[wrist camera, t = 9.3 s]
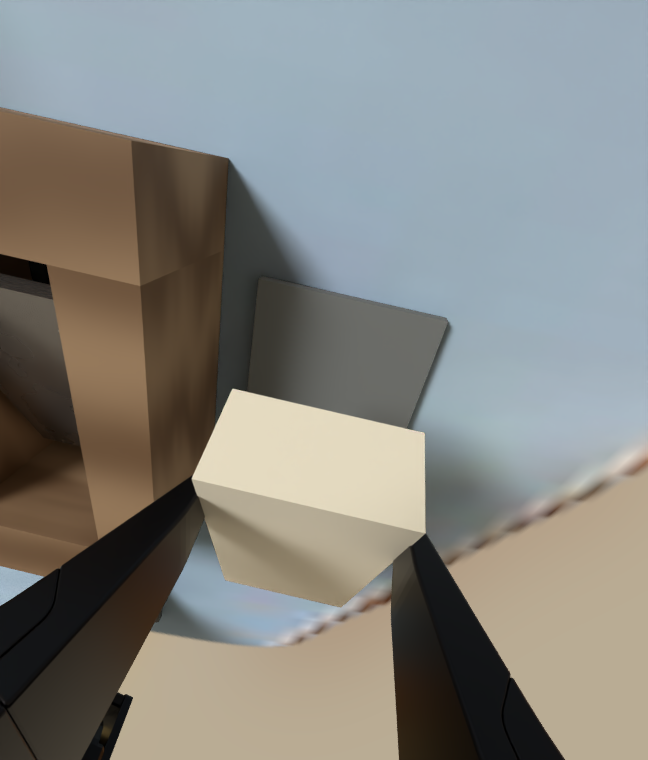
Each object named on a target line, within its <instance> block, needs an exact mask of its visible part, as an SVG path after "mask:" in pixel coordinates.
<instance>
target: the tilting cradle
mask: <svg viewBox="0 0 648 760" xmlns="http://www.w3.org/2000/svg"><path fill="white" fill-rule="evenodd" d="M0 390H1V391H2V392H3V393H4V394H5V396H6V397H7V398H8V399H9V400H10V401H11V402H12V403H13V404H14V406H15V407H16V408H17V409H18V410H19V411H20V412H21V413H22V414H23V415H24V417H25V418H26V419H27V420H28V421H29V422H30V423H31V424H32V425H33V427H34V428H35V429H36V430H37V431H38V432H39V433H40V434H41V435H42V437H43V438H47V439H51V440H55V441H59V442H64V443H68V444H72V445H76V446H80V447H81V445H80V439H79V434H78V429H77V424H76V418H75V413H74V408H73V402H72V397H71V392H70V386H69V381H68V376H67V370H66V365H65V360H64V354H63V349H62V344H61V338H60V333H59V328H58V322H57V317H56V312H55V307H54V301H53V296H52V291H51V285H49V284H44V283H40V282H36V281H31V280H27V279H23V278H18V277H14V276H10V275H5V274H1V273H0Z"/></svg>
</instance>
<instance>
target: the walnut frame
mask: <svg viewBox="0 0 648 760" xmlns="http://www.w3.org/2000/svg"><path fill="white" fill-rule="evenodd" d="M228 162H229V158H224V157H220V156H215V155H211V154H206V153H202V152H197V151H193V150H188V149H184V148H180V147H175V146H171V145H166V144H162V143H157V142H153V141H148V140H144V139H139V138H135V137H130V136H126V135H122V134H117V133H113V132H108V131H104V130H99V129H95V128H90V127H86V126H81V125H77V124H72V123H68V122H64V121H59V120H55V119H50V118H46V117H41V116H37V115H32V114H28V113H23V112H19V111H14V110H10V109H6V108H1V107H0V273H1V274H5V275H10V276H14V277H18V278H23V279H27V280H31V281H32V276H31V272H30V267H29V262H28V260H29V261H34V262H38V263H42V264H47V269H48V275H49V280H50V285H51V291H52V296H53V301H54V307H55V312H56V317H57V322H58V328H59V333H60V338H61V344H62V349H63V354H64V360H65V365H66V370H67V376H68V381H69V386H70V392H71V397H72V402H73V408H74V413H75V418H76V424H77V429H78V434H79V439H80V445H81V447H80V446H76V445H72V444H68V443H64V442H59V441H55V440H51V439H47V438H43V437H42V435H41V434H40V433H39V432H38V431H37V430H36V429H35V428H34V427H33V425H32V424H31V423H30V422H29V421H28V420H27V419H26V418H25V417H24V415H23V414H22V413H21V412H20V411H19V410H18V409H17V408H16V407H15V406H14V404H13V403H12V402H11V401H10V400H9V399H8V398H7V397H6V396H5V394H4V393H3V392H2V391H1V390H0V566H3V567H7V568H11V569H15V570H19V571H24V572H28V573H32V574H36V575H40V576H44V577H45V576H47V575H48V574H50V573H51V572H52V571H54V570H55V569H57V568H59V569H60V567H61V566H62V565H63V564H64V563H66V562H67V561H69V560H70V559H72V558H73V557H74V556H76V555H77V554H79V553H80V552H82V551H83V550H85V549H86V548H87V547H89V546H90V545H92V544H93V543H95V542H96V541H98V540H99V539H100V538H102V537H103V536H105V535H106V534H108V533H109V532H111V531H112V530H113V529H115V528H116V527H118V526H119V525H121V524H122V523H124V522H125V521H126V520H128V519H129V518H131V517H132V516H134V515H135V514H137V513H138V512H139V511H141V510H142V509H144V508H145V507H147V506H148V505H150V504H151V503H152V502H154V501H155V500H157V499H158V498H160V497H161V496H163V495H164V494H166V493H167V492H168V491H170V490H171V489H173V488H174V487H176V486H177V485H179V484H180V483H181V482H183V481H184V480H186V479H187V478H189V477H190V476H192V475H193V474H194V472H195V470H196V468H197V466H198V463H199V461H200V459H201V457H202V455H203V452H204V450H205V448H206V446H207V444H208V441H209V439H210V437H211V435H212V433H213V430H214V428H215V413H216V393H217V374H218V355H219V336H220V316H221V297H222V278H223V258H224V239H225V220H226V201H227V181H228Z"/></svg>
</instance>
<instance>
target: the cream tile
mask: <svg viewBox="0 0 648 760" xmlns="http://www.w3.org/2000/svg"><path fill="white" fill-rule="evenodd" d="M192 482H193V485H194V488H195V491H196V494H197V496H198V497H199V500H200V503H201V506H202V509H203V512H204V515H205V521H206V524H207V527H208V530H209V533H210V536H211V539H212V542H213V545H214V548H215V551H216V554H217V557H218V560H219V563H220V566H221V569H222V572H223V575H224V578H225V580H226V581H231V582H235V583H239V584H243V585H248V586H252V587H256V588H260V589H265V590H269V591H273V592H277V593H282V594H286V595H290V596H294V597H298V598H303V599H307V600H311V601H315V602H320V603H324V604H328V605H332V606H337V607H342V606H343V605H344V604H346V603H347V602H348V601H349V600H350V599H351V598H352V597H354V596H355V595H356V594H357V593H358V592H359V591H360V590H362V589H363V588H364V587H365V586H366V585H367V584H368V583H370V582H371V581H372V580H373V579H374V578H375V577H376V576H378V575H379V574H380V573H381V572H382V571H383V570H384V569H386V568H387V567H388V566H389V565H390V564H391V563H392V562H393V560H394V559H396V558H397V557H398V556H399V555H400V554H401V553H402V552H403V551H405V550H406V549H407V548H408V547H409V546H412V545H413V544H414V543H415V542H416V541H418V540H419V539H420V538H421V537H422V536H423V535H424V534H426V529H425V433H423V432H418V431H414V430H410V429H405V428H401V427H397V426H392V425H388V424H384V423H379V422H375V421H371V420H366V419H362V418H358V417H353V416H349V415H345V414H340V413H336V412H332V411H327V410H323V409H319V408H314V407H310V406H306V405H301V404H297V403H293V402H288V401H284V400H280V399H275V398H271V397H267V396H262V395H258V394H254V393H249V392H245V391H241V390H236V389H232V391H231V393H230V395H229V397H228V400H227V402H226V404H225V406H224V408H223V411H222V413H221V415H220V417H219V419H218V422H217V424H216V426H215V428H214V430H213V433H212V435H211V437H210V439H209V441H208V444H207V446H206V448H205V450H204V452H203V455H202V457H201V459H200V461H199V463H198V466H197V468H196V470H195V472H194V475H193V477H192Z"/></svg>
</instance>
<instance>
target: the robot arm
mask: <svg viewBox="0 0 648 760" xmlns="http://www.w3.org/2000/svg"><path fill="white" fill-rule="evenodd" d="M193 475H194V474H193ZM193 475H192V476H190V477H189V478H187V479H186V480H184V481H183V482H181V483H180V484H179V485H177V486H176V487H174V488H173V489H171V490H170V491H168V492H167V493H166V494H164V495H163V496H161V497H160V498H158V499H157V500H155V501H154V502H152V503H151V504H150V505H148V506H147V507H145V508H144V509H142V510H141V511H139V512H138V513H137V514H135V515H134V516H132V517H131V518H129V519H128V520H126V521H125V522H124V523H122V524H121V525H119V526H118V527H116V528H115V529H113V530H112V531H111V532H109V533H108V534H106V535H105V536H103V537H102V538H100V539H99V540H98V541H96V542H95V543H93V544H92V545H90V546H89V547H87V548H86V549H85V550H83V551H82V552H80V553H79V554H77V555H76V556H74V557H73V558H72V559H70V560H69V561H67V562H66V563H64V564H63V565H62V566H61V567H60V569H59V568H57V569H55V570H54V571H52V572H51V573H50V574H48V575H47V576H45V577H44V578H42V579H41V580H39V581H38V582H36V583H35V584H33V585H32V586H30V587H29V588H27V589H26V590H24V591H23V592H21V593H20V594H18V595H17V596H15V597H14V598H12V599H11V600H9V601H8V602H6V603H5V604H3V605H1V606H0V760H110V757H111V754H112V752H113V749H114V747H115V744H116V741H117V739H118V736H119V733H120V731H121V728H122V726H123V723H124V720H125V718H126V715H127V713H128V710H129V707H130V705H131V702H132V699H133V697H131V696H129V695H127V694H125V695H122V694H120V693H118V690H119V688H120V686H121V684H122V682H123V681H124V679H125V677H126V675H127V673H128V671H129V669H130V667H131V666H132V664H133V662H134V660H135V658H136V656H137V654H138V652H139V650H140V649H141V647H142V645H143V643H144V641H145V639H146V638H147V636H148V634H149V632H150V630H151V628H152V626H153V624H154V623H155V622H159V620H160V618H161V616H162V608H163V606H164V604H165V602H166V600H167V598H168V596H169V595H170V593H171V591H172V589H173V587H174V585H175V583H176V581H177V580H178V578H179V576H180V574H181V572H182V570H183V568H184V566H185V564H186V562H187V559H188V557H189V555H190V552H191V550H192V547H193V545H194V542H195V540H196V537H197V535H198V533H199V530H200V528H201V525H202V523H203V520H204V518H205V515H204V512H203V509H202V506H201V503H200V500H199V497H198V496H197V494H196V491H195V488H194V485H193V482H192V477H193ZM391 627H392V642H393V644H392V645H393V662H394V680H395V696H396V713H397V731H398V749H399V760H565V759H564V757H563V756H562V755H561V753H560V752H559V750H558V749H557V747H556V746H555V744H554V743H553V741H552V740H551V738H550V737H549V735H548V734H547V732H546V731H545V729H544V727H543V726H542V724H541V723H540V721H539V720H538V718H537V716H536V715H535V713H534V712H533V710H532V708H531V707H530V705H529V703H528V702H527V700H526V699H525V697H524V695H523V694H522V692H521V690H520V689H519V687H518V685H517V684H516V682H515V680H514V679H513V678H510V672H509V671H508V669H507V667H506V666H505V664H504V662H503V661H502V659H501V657H500V656H499V654H498V652H497V651H496V649H495V647H494V646H493V644H492V642H491V641H490V639H489V637H488V636H487V634H486V632H485V631H484V629H483V628H482V626H481V624H480V623H479V621H478V619H477V617H476V616H475V614H474V613H473V611H472V609H471V607H470V606H469V604H468V602H467V601H466V599H465V597H464V596H463V594H462V592H461V591H460V589H459V587H458V586H457V584H456V583H455V581H454V579H453V577H452V576H451V574H450V572H449V571H448V569H447V567H446V566H445V564H444V562H443V561H442V559H441V557H440V556H439V554H438V552H437V551H436V549H435V547H434V546H433V544H432V542H431V541H430V539H429V538H428V536H427V534H424V535H423V536H422V537H421V538H420V539H419V540H418V541H416V542H415V543H414V544H413V545H412V546H409V547H408V548H407V549H406V550H405V551H403V552H402V553H401V554H400V555H399V556H398V557H397V558H396V559H394V560H393V576H392V597H391Z"/></svg>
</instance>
